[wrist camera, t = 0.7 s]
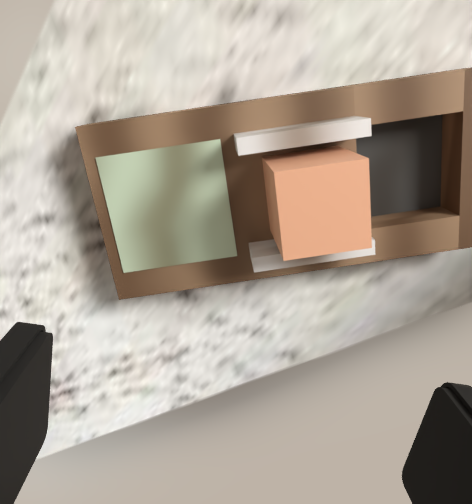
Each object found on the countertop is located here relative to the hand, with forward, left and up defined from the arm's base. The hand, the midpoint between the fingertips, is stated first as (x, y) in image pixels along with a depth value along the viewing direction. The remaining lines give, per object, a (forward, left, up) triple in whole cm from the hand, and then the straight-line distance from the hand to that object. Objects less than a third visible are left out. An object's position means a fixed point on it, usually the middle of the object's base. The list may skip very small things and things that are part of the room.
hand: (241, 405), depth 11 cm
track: (-5, 0, -23) cm, 24 cm away
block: (-5, 0, -20) cm, 21 cm away
